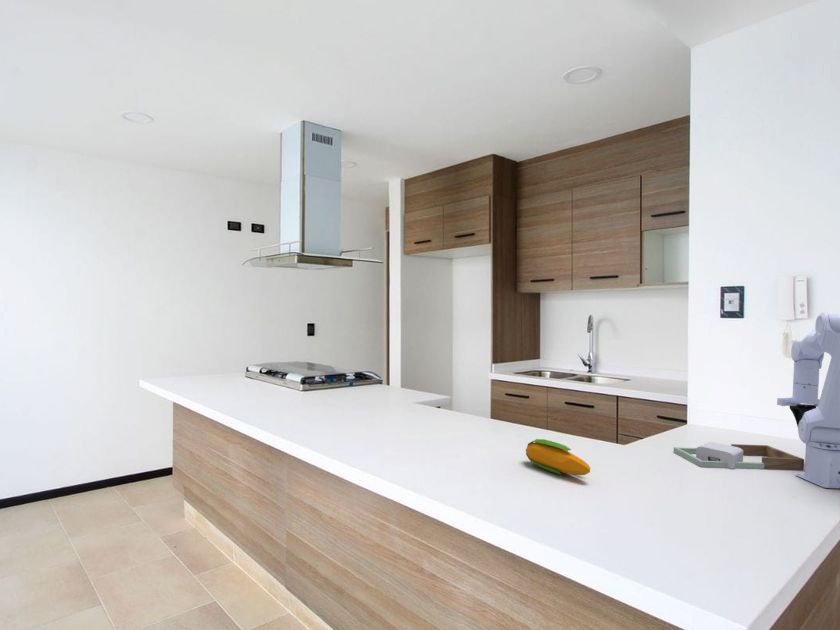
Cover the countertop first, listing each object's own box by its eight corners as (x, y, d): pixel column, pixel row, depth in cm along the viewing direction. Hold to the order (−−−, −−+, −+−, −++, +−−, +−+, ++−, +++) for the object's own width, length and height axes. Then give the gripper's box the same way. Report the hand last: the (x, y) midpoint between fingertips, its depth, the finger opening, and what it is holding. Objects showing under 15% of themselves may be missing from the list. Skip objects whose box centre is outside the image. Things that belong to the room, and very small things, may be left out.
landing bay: (764, 469, 137) (764, 463, 137) (700, 467, 136) (701, 461, 136) (730, 454, 151) (731, 449, 150) (673, 452, 150) (673, 447, 150)
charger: (749, 461, 145) (732, 471, 135) (714, 453, 152) (695, 462, 142) (750, 444, 145) (733, 453, 135) (714, 438, 152) (696, 445, 142)
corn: (538, 431, 137) (601, 450, 121) (538, 458, 138) (601, 481, 121) (519, 436, 133) (581, 456, 116) (519, 464, 133) (581, 488, 117)
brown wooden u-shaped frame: (803, 470, 137) (804, 459, 137) (764, 469, 137) (764, 458, 136) (766, 455, 151) (767, 445, 151) (730, 454, 151) (731, 444, 150)
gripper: (819, 382, 146) (816, 429, 146) (770, 380, 145) (768, 427, 146) (840, 386, 139) (837, 435, 139) (788, 384, 138) (786, 433, 139)
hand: (803, 431), depth 142 cm, fingers closed
